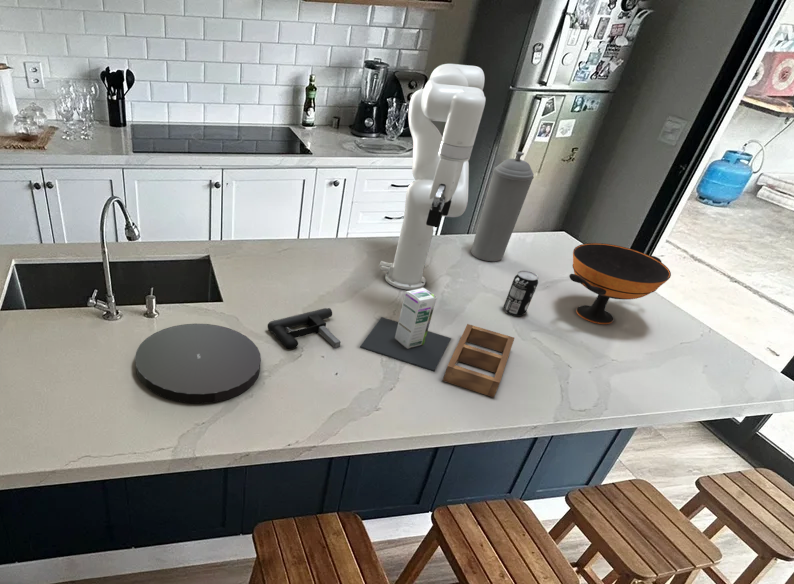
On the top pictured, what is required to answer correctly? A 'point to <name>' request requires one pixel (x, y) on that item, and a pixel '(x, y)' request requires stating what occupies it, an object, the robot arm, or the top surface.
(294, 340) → the door handle
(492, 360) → the rack
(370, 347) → the mat
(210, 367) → the disc
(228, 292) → the top surface
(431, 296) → the syrup box
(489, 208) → the canister
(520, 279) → the beverage can
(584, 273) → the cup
